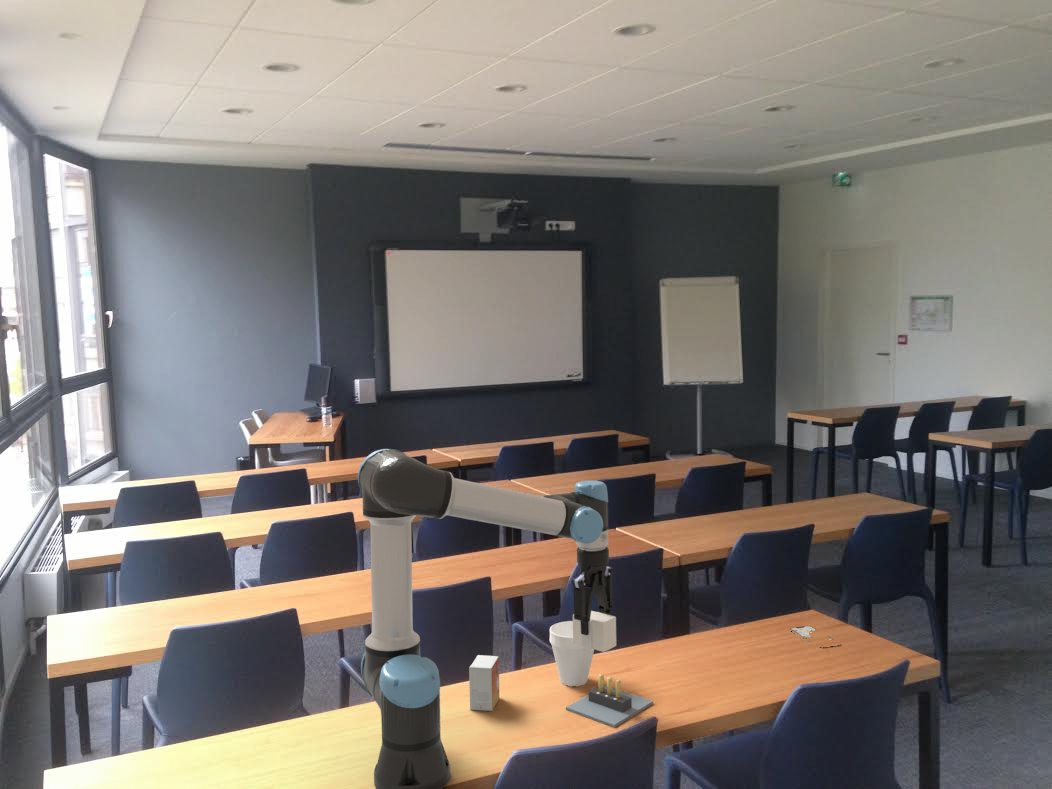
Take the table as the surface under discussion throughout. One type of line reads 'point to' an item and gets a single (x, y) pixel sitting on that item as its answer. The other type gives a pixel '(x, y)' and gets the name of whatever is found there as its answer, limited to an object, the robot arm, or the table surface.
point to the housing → (598, 631)
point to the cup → (570, 655)
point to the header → (609, 704)
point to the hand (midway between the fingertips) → (594, 643)
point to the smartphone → (804, 631)
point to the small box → (484, 682)
